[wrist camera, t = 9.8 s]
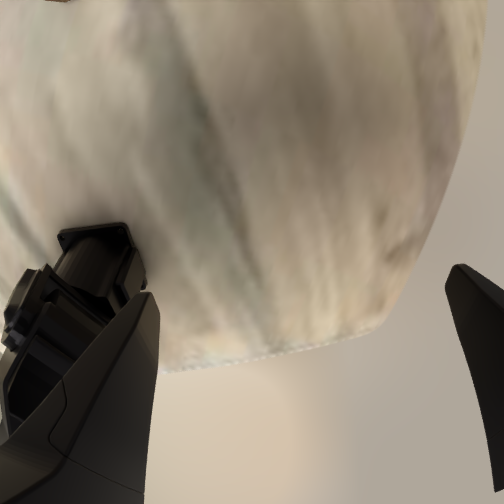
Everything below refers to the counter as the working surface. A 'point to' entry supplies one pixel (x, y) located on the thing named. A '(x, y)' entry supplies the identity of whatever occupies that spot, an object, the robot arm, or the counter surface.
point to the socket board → (58, 0)
